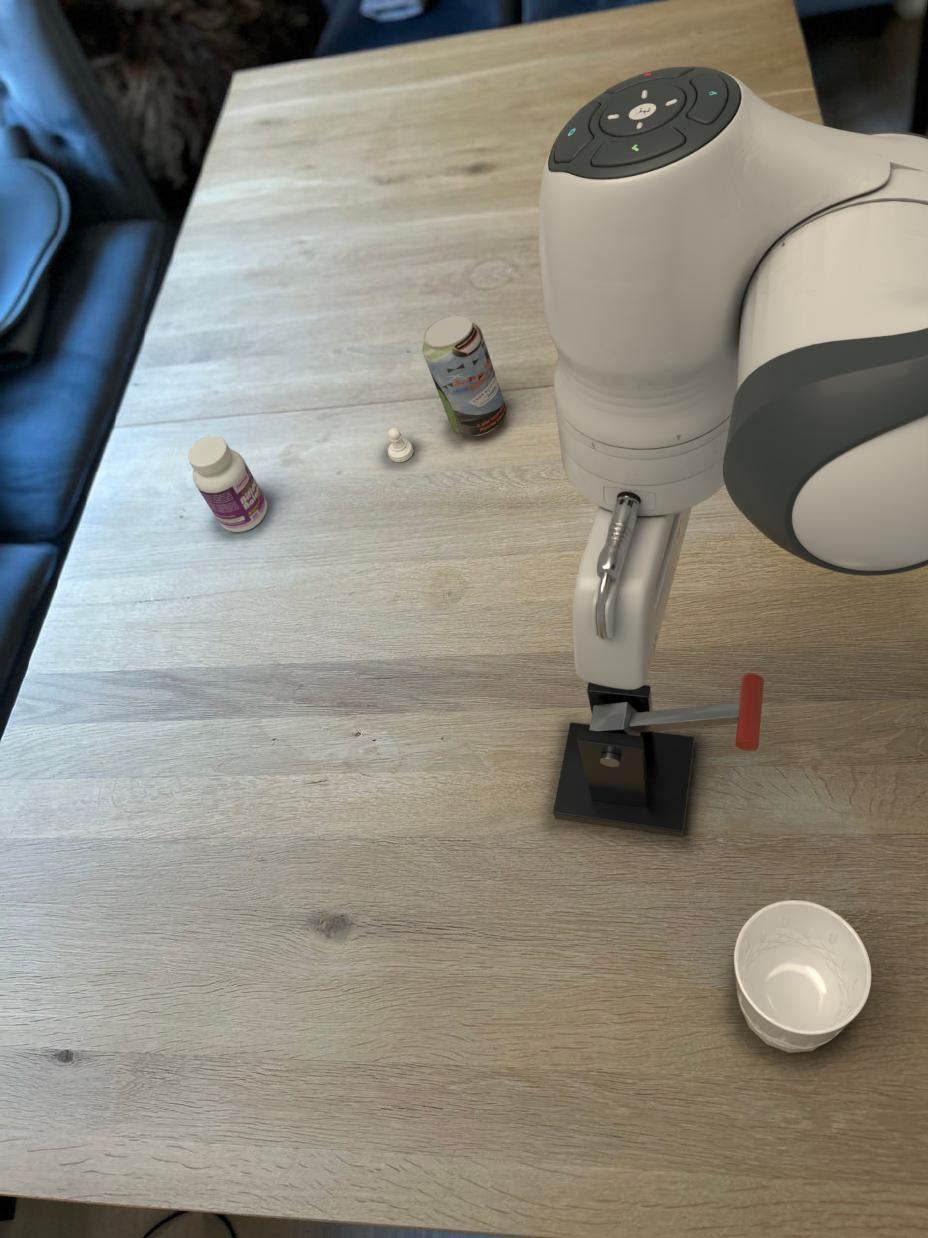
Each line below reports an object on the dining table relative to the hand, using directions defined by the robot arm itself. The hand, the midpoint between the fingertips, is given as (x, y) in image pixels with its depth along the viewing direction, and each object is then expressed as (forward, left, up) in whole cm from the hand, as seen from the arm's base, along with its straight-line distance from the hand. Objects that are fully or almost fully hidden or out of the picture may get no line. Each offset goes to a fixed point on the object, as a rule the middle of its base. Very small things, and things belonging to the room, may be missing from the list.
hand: (651, 594), depth 60 cm
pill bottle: (+46, -22, -24) cm, 56 cm away
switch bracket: (+3, +2, -24) cm, 24 cm away
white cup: (-11, +17, -24) cm, 31 cm away
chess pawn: (+31, -31, -24) cm, 50 cm away
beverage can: (+24, -36, -24) cm, 49 cm away
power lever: (-2, +2, -13) cm, 13 cm away
